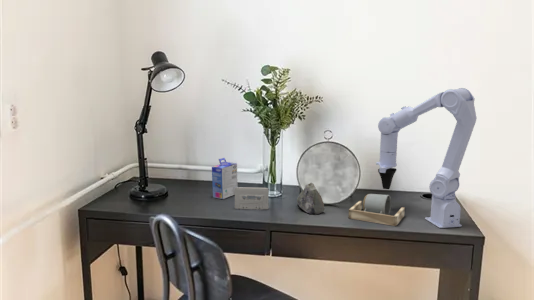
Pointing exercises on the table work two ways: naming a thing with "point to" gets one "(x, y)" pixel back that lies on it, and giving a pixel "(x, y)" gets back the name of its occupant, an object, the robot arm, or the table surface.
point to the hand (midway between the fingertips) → (386, 188)
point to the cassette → (251, 203)
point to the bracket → (375, 215)
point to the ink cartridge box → (224, 179)
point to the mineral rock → (311, 200)
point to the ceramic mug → (377, 203)
